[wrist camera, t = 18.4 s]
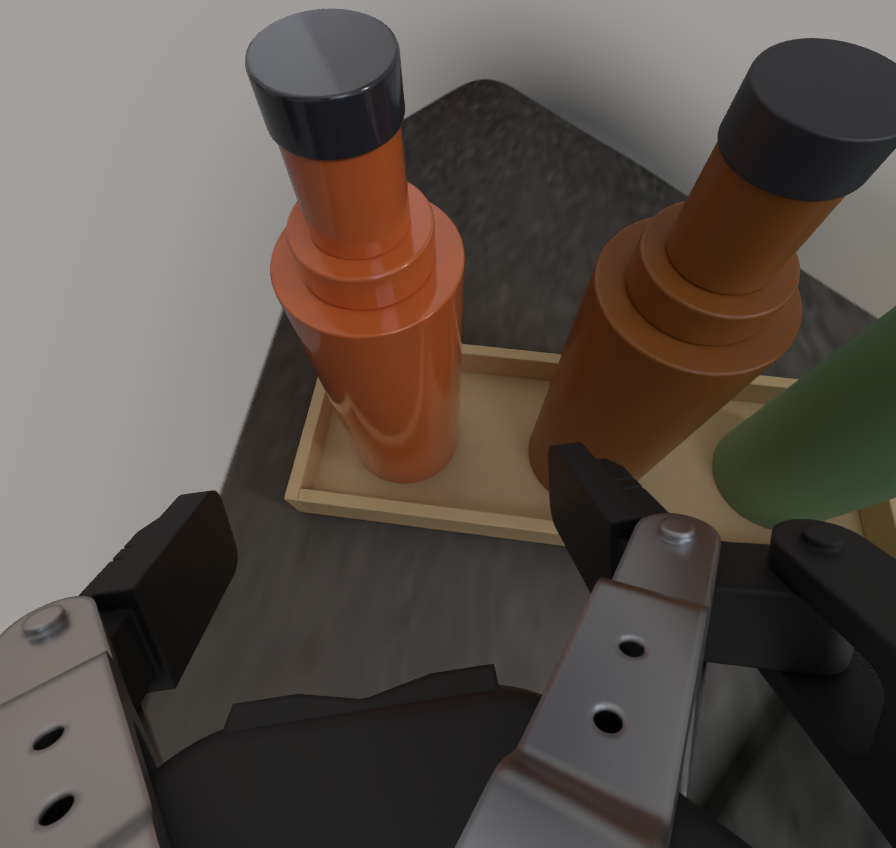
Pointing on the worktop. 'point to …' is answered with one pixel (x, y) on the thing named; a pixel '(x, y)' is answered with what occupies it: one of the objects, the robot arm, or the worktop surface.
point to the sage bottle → (819, 438)
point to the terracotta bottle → (362, 241)
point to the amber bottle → (718, 260)
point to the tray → (526, 464)
